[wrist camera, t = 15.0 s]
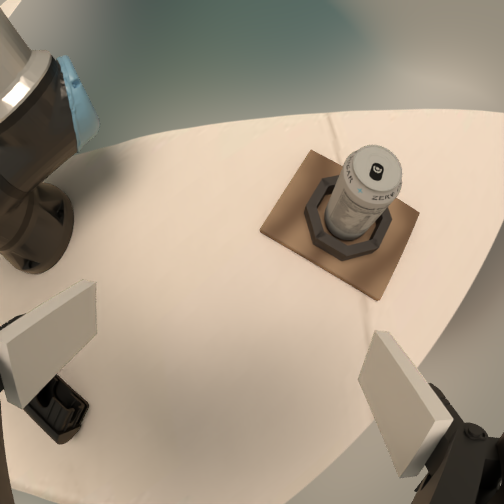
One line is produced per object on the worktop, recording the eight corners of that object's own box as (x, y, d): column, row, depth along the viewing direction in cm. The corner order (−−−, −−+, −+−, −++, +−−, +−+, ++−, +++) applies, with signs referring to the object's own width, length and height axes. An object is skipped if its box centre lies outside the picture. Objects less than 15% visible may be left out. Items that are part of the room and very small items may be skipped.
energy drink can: (372, 209, 42) (413, 155, 27) (358, 249, 41) (400, 208, 26) (331, 192, 43) (356, 130, 28) (316, 231, 41) (338, 180, 27)
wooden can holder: (260, 232, 43) (258, 221, 39) (310, 153, 45) (313, 138, 41) (376, 300, 40) (387, 297, 36) (416, 215, 42) (428, 205, 38)
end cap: (34, 397, 39) (8, 402, 33) (48, 365, 41) (20, 367, 34) (77, 438, 38) (52, 449, 31) (92, 406, 39) (67, 415, 32)
